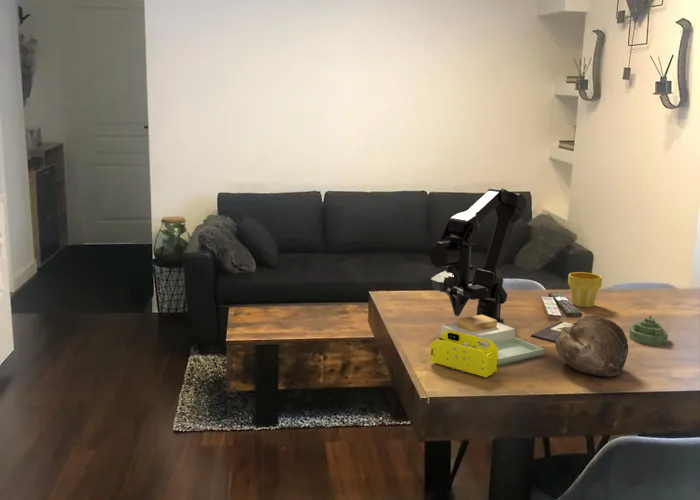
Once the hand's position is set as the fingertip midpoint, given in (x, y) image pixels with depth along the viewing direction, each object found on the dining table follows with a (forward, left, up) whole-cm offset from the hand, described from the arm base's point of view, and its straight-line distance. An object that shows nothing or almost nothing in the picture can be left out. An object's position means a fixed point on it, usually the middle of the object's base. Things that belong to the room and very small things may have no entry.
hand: (457, 315), depth 215 cm
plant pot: (-55, -2, -5) cm, 55 cm away
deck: (0, +9, -5) cm, 10 cm away
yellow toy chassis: (+18, +23, -5) cm, 30 cm away
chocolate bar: (-26, +15, -6) cm, 30 cm away
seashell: (-11, +38, -5) cm, 40 cm away
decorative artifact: (-44, +31, -5) cm, 54 cm away
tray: (0, +21, -5) cm, 21 cm away
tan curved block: (0, +9, -1) cm, 9 cm away
